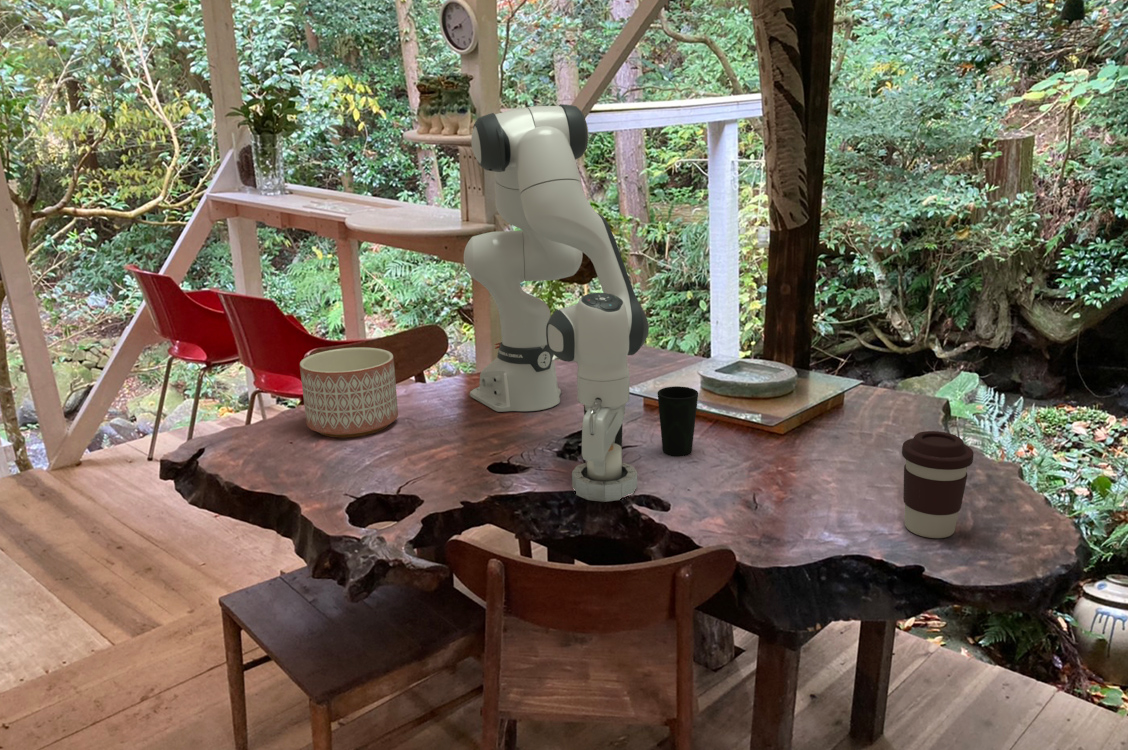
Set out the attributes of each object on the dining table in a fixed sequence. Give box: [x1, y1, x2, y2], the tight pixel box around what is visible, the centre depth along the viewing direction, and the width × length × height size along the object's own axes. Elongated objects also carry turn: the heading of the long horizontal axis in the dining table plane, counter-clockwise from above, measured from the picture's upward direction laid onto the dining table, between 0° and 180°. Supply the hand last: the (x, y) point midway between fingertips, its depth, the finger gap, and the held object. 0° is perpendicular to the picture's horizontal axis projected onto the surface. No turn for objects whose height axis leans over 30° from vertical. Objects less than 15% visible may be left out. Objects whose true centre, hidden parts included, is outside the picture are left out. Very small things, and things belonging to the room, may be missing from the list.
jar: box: [586, 443, 623, 482], centre depth 152 cm, size 6×6×5 cm
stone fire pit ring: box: [571, 461, 638, 503], centre depth 153 cm, size 11×11×3 cm
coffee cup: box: [901, 430, 975, 539], centre depth 134 cm, size 10×10×15 cm
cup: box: [657, 385, 699, 458], centre depth 167 cm, size 8×8×12 cm
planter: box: [299, 346, 399, 439], centre depth 186 cm, size 19×19×15 cm
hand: (604, 465), depth 152 cm, fingers closed on jar, 6 cm apart
